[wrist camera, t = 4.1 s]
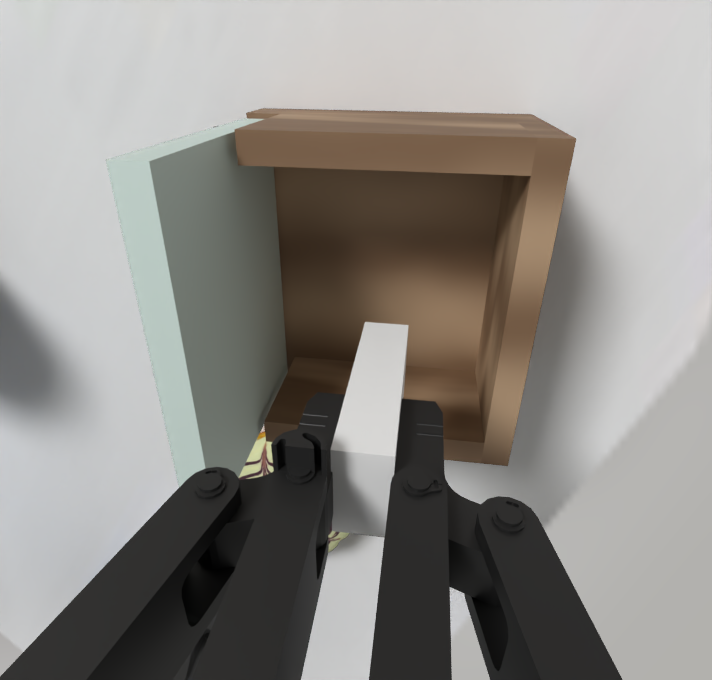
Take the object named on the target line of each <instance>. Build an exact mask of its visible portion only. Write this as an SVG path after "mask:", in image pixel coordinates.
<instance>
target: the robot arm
mask: <svg viewBox="0 0 712 680" xmlns="http://www.w3.org/2000/svg"><path fill="white" fill-rule="evenodd" d="M408 326H409V325H401V324H387V323H373V322H365V324H364V328H363V331H362V335H361V339H360V342H359V346H358V350H357V354H356V357H355V361H354V365H353V368H352V372H351V376H350V379H349V383H348V387H347V391H346V394H345V395H344V394H333V393H322V392H318V393H316V394H315V395H314V396H313V397H312V398H311V399H310V400H309V401H308V402H307V404H306V407H305V409H304V412H303V415H302V417H301V420H300V424H299V425H298V428H297V429H295V430H291V431H287V432H284V433H283V434H281V435H279V436H278V437H276V438H275V440H274V441H273V442H272V444H271V449H272V460H273V470H274V471H273V472H272V473H269V474H267V475H265V476H261V477H256V478H250V479H243V480H239V478H238V477H237V475H236V474H235V472H233V471H231V470H229V469H228V468H222V467H212V468H206V469H203V470H201V471H198V472H196V473H195V474H193V475H192V476H191V477H189V478H188V479H187V480H186V481H185V482H184V483H183V484H182V485H181V486H180V487H179V488H178V490H177V491H176V492H175V493H174V494H173V495H172V496H171V497H170V498H169V499H168V500H167V501H166V502H165V503H164V504H163V505H162V506H161V507H160V509H159V510H158V511H157V512H156V513H155V514H154V515H153V516H152V517H151V518H150V519H149V520H148V521H147V522H146V523H145V524H144V525H143V526H142V528H141V529H140V530H139V531H138V532H137V533H136V534H135V535H134V536H133V537H132V538H131V539H130V540H129V541H128V542H127V543H126V544H125V546H124V547H123V548H122V549H121V550H120V551H119V552H118V553H117V554H116V555H115V556H114V557H113V558H112V559H111V560H110V561H109V562H108V563H107V565H106V566H105V567H104V568H103V569H102V570H101V571H100V572H99V573H98V574H97V575H96V576H95V577H94V578H93V579H92V580H91V581H90V582H89V584H88V585H87V586H86V587H85V588H84V589H83V590H82V591H81V592H80V593H79V594H78V595H77V596H76V597H75V598H74V599H73V600H72V602H71V603H70V604H69V605H68V606H67V607H66V608H65V609H64V610H63V611H62V612H61V613H60V614H59V615H58V616H57V617H56V618H55V619H54V621H53V622H52V623H51V624H50V625H49V626H48V627H47V628H46V629H45V630H44V631H43V632H42V633H41V634H40V635H39V636H38V637H37V638H36V640H35V641H34V642H33V643H32V644H31V645H30V646H29V647H28V648H27V649H26V650H25V651H24V652H23V653H22V654H21V655H20V656H19V658H18V659H17V660H16V661H15V662H14V663H13V664H12V665H11V666H10V667H9V668H8V669H7V670H6V671H5V672H4V673H3V674H2V675H1V677H0V680H301V676H302V671H303V667H304V662H305V657H306V653H307V648H308V643H309V639H310V634H311V629H312V625H313V620H314V616H315V611H316V606H317V602H318V597H319V592H320V588H321V583H322V578H323V574H324V569H325V564H326V560H327V555H328V550H329V539H328V535H329V531H330V526H331V522H332V531H336V532H345V533H353V534H361V535H369V536H377V537H385V539H384V548H383V558H382V567H381V576H380V585H379V594H378V603H377V612H376V621H375V630H374V639H373V649H372V658H371V667H370V676H369V680H452V678H451V677H452V676H451V633H450V591H449V587H452V588H454V589H456V590H458V591H460V592H463V593H465V599H466V602H467V606H468V609H469V612H470V615H471V619H472V622H473V625H474V628H475V631H476V635H477V638H478V641H479V645H480V648H481V651H482V654H483V658H484V660H485V664H486V667H487V670H488V674H489V677H490V680H622V678H621V676H620V674H619V672H618V670H617V668H616V667H615V665H614V663H613V661H612V659H611V657H610V655H609V653H608V651H607V649H606V647H605V645H604V643H603V642H602V640H601V638H600V636H599V634H598V632H597V630H596V628H595V626H594V624H593V622H592V620H591V619H590V617H589V615H588V613H587V611H586V609H585V607H584V605H583V603H582V601H581V599H580V597H579V596H578V594H577V592H576V590H575V588H574V586H573V584H572V582H571V580H570V579H569V577H568V575H567V573H566V571H565V569H564V567H563V565H562V563H561V561H560V559H559V557H558V556H557V553H556V552H555V550H554V548H553V546H552V544H551V542H550V540H549V538H548V536H547V534H546V532H545V530H544V529H543V527H542V525H541V523H540V521H539V519H538V517H537V516H536V515H535V513H534V512H533V511H532V509H531V508H529V507H528V506H527V505H525V504H524V503H522V502H521V501H518V500H515V499H512V498H510V497H494V498H490V499H487V500H486V501H485V502H483V503H482V504H478V503H475V502H473V501H470V500H468V499H466V498H464V497H461V496H460V495H458V494H457V493H456V492H454V491H453V490H452V489H451V487H450V486H449V485H448V483H447V481H446V480H445V475H444V441H443V412H442V411H441V409H440V408H439V406H438V405H437V403H436V402H435V401H424V400H413V399H403V396H404V384H405V369H406V355H407V341H408Z"/></svg>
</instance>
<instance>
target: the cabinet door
mask: <svg viewBox="0 0 712 680" xmlns="http://www.w3.org/2000/svg"><path fill="white" fill-rule="evenodd" d="M261 120H264V119H248V118H244V119H241V120H238V121H234V122H231V123H228V124H224V125H221V126H215V127H213V128H211V129H207V130H204V131H201V132H197V133H194V134H191V135H187V136H184V137H181V138H177V139H174V140H171V141H167V142H164V143H160V144H157V145H154V146H150V147H147V148H144V149H140V150H137V151H134V152H130V153H127V154H124V155H120V156H117V157H113V158H110V159H107V160H106V163H107V168H108V172H109V177H110V181H111V186H112V190H113V195H114V199H115V204H116V208H117V212H118V217H119V221H120V226H121V230H122V235H123V239H124V244H125V248H126V253H127V257H128V262H129V266H130V271H131V275H132V279H133V284H134V288H135V293H136V297H137V302H138V306H139V311H140V315H141V320H142V324H143V329H144V333H145V337H146V342H147V346H148V351H149V355H150V360H151V364H152V369H153V373H154V378H155V382H156V387H157V391H158V396H159V400H160V404H161V409H162V413H163V418H164V422H165V427H166V431H167V436H168V440H169V445H170V449H171V454H172V458H173V462H174V467H175V471H176V476H177V480H178V485H179V487H180V486H181V485H182V484H183V483H184V482H185V481H186V480H187V479H188V478H189V477H191V476H192V475H193V474H195V473H196V472H198V471H201V470H203V469H206V468H212V467H222V468H228V469H229V470H231V471H233V472H235V474H236V475H237V477H238V478H239V476H240V474H241V472H242V470H243V467H244V465H245V463H246V461H247V459H248V457H249V455H250V453H251V450H252V448H253V446H254V444H255V442H256V440H257V438H258V436H259V434H260V431H261V429H262V427H263V425H264V421H265V419H266V417H267V415H268V412H269V410H270V408H271V406H272V404H273V402H274V400H275V398H276V396H277V393H278V391H279V389H280V387H281V385H282V383H283V381H284V379H285V377H286V375H287V372H288V369H287V354H286V339H285V325H284V310H283V295H282V281H281V266H280V251H279V236H278V222H277V207H276V192H275V178H274V167H268V166H240V165H238V160H237V150H236V140H235V130H234V129H237V128H240V127H243V126H246V125H249V124H252V123H255V122H258V121H261Z"/></svg>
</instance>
